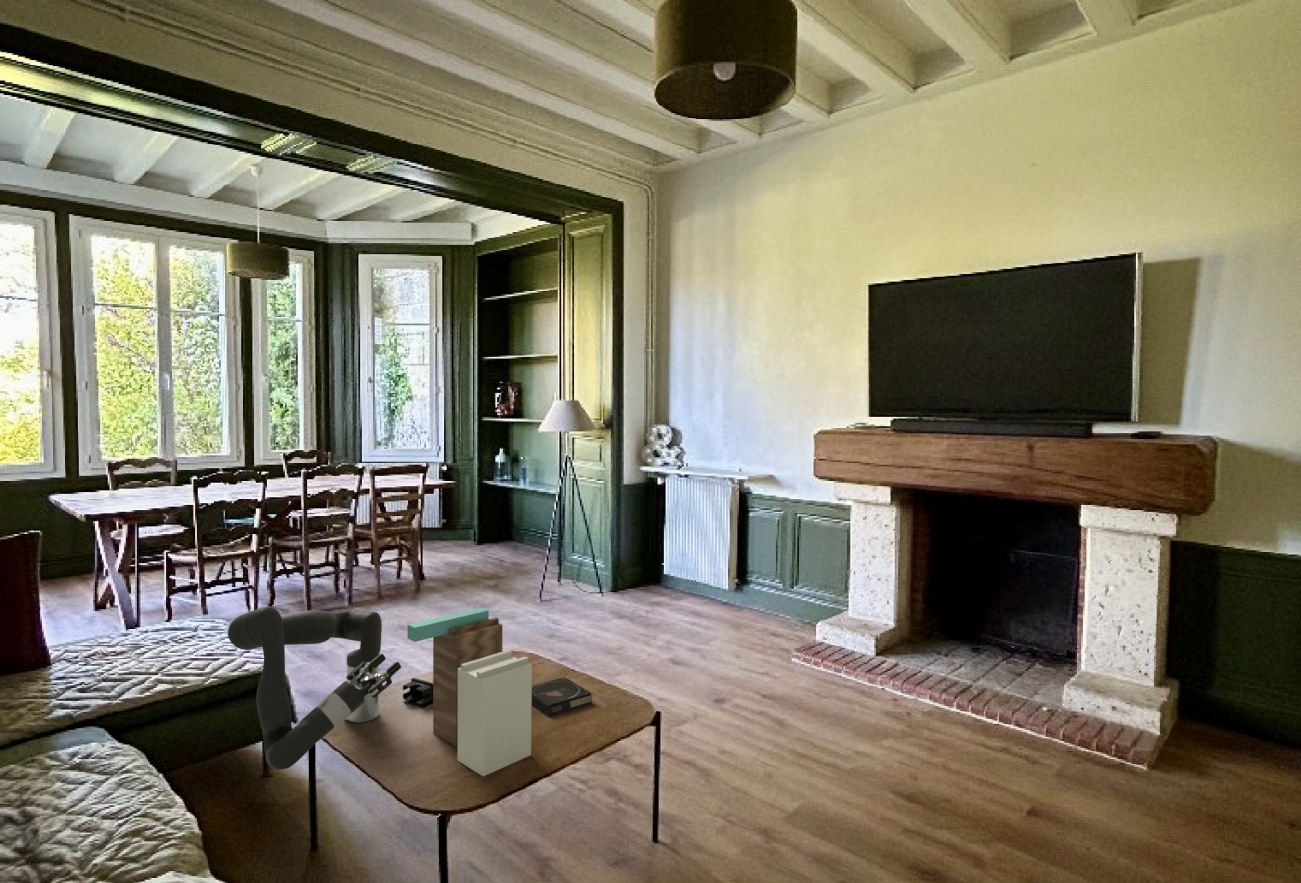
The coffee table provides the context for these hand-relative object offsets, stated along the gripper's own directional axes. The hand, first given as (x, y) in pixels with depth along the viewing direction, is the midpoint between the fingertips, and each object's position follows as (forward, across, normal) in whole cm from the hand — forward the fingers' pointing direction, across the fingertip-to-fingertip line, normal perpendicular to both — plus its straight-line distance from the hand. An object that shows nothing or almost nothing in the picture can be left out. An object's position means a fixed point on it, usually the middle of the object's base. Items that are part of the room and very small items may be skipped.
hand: (391, 659), depth 197 cm
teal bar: (+18, 0, +6) cm, 19 cm away
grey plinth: (+4, -19, +35) cm, 40 cm away
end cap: (+8, +28, +37) cm, 47 cm away
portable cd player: (+35, -3, +53) cm, 64 cm away
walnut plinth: (+7, 0, +36) cm, 37 cm away
